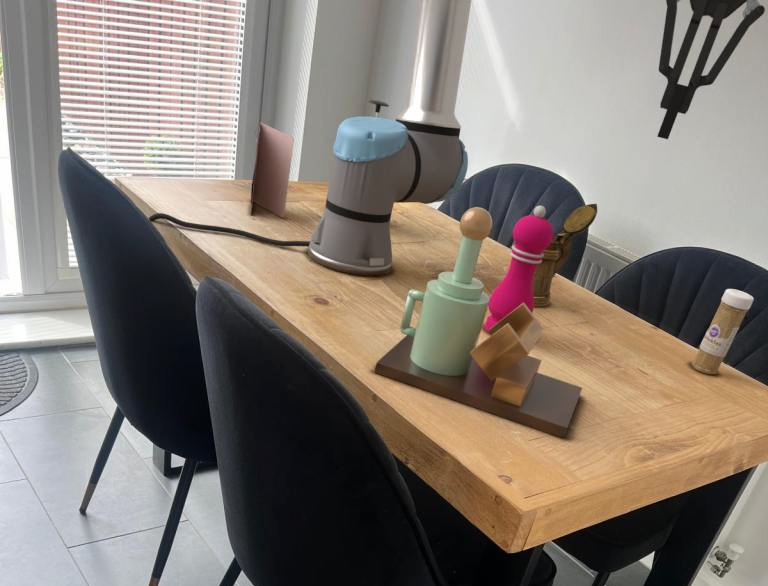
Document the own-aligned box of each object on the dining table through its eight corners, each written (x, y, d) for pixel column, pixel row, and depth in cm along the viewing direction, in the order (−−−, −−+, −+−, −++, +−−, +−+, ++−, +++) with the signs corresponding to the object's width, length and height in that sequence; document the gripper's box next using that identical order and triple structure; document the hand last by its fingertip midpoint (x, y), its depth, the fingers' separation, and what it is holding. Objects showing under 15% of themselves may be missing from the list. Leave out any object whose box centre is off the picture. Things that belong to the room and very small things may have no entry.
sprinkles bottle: (686, 365, 129) (721, 288, 121) (697, 362, 132) (733, 286, 124) (710, 377, 126) (748, 299, 119) (721, 373, 129) (759, 297, 122)
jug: (411, 395, 103) (357, 254, 96) (429, 375, 110) (380, 242, 103) (527, 363, 95) (477, 207, 89) (538, 343, 102) (493, 197, 95)
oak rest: (460, 386, 99) (480, 316, 93) (480, 359, 108) (499, 294, 102) (519, 407, 97) (543, 337, 92) (535, 378, 106) (557, 313, 101)
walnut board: (374, 372, 100) (376, 362, 99) (409, 339, 112) (411, 330, 112) (563, 438, 96) (567, 428, 95) (578, 396, 108) (582, 387, 107)
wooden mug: (576, 309, 142) (612, 211, 132) (516, 305, 137) (548, 202, 127) (551, 291, 149) (583, 196, 139) (493, 287, 143) (522, 187, 133)
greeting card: (248, 199, 159) (255, 121, 150) (283, 206, 160) (293, 129, 152) (246, 214, 149) (254, 131, 141) (283, 221, 151) (294, 139, 143)
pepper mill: (527, 332, 126) (568, 208, 115) (520, 346, 120) (562, 216, 109) (486, 319, 127) (522, 195, 116) (477, 332, 121) (514, 202, 110)
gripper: (687, -89, 91) (614, 126, 104) (798, -65, 88) (709, 152, 101) (688, -79, 97) (619, 123, 110) (792, -56, 94) (709, 147, 108)
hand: (662, 137), depth 106 cm, fingers closed
